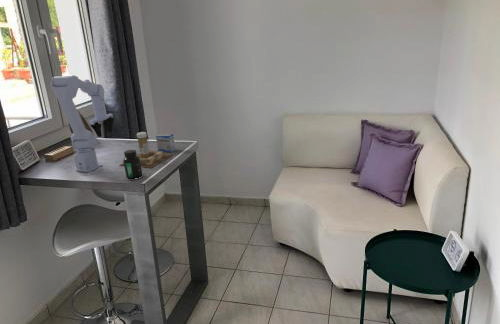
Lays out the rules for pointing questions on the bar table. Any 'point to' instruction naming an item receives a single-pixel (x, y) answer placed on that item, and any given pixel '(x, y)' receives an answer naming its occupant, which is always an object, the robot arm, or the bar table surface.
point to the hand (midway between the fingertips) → (104, 134)
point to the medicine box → (165, 142)
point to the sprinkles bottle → (143, 144)
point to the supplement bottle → (132, 165)
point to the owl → (83, 123)
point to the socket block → (152, 159)
